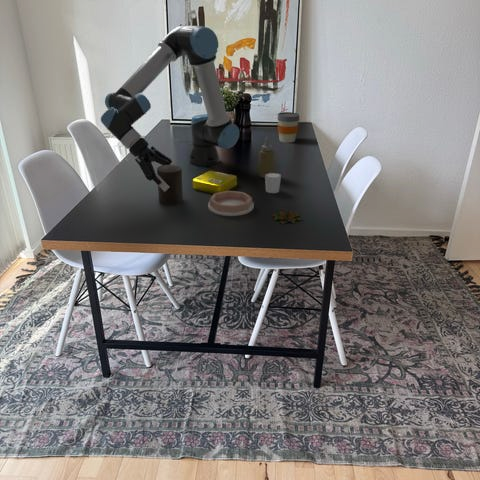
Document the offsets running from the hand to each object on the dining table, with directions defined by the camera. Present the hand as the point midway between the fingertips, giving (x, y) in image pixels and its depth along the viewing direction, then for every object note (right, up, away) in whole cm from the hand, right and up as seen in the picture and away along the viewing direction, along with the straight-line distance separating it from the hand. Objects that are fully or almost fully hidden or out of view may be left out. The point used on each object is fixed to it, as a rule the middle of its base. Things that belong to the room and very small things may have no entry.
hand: (173, 183), depth 181 cm
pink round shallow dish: (+23, -9, -1) cm, 25 cm away
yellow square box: (+15, +1, +19) cm, 25 cm away
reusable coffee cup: (+54, +36, +86) cm, 107 cm away
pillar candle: (-2, -7, +4) cm, 8 cm away
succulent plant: (+44, -15, -9) cm, 47 cm away
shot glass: (+40, -1, +15) cm, 43 cm away
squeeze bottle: (+38, +7, +31) cm, 49 cm away
